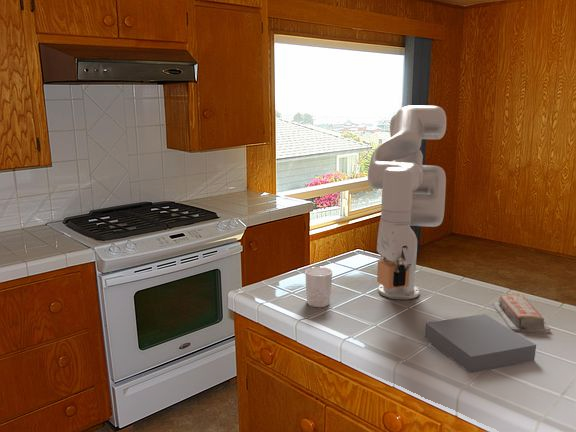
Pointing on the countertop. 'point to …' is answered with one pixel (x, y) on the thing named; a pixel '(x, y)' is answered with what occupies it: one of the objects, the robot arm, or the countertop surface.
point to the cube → (389, 274)
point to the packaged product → (520, 314)
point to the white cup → (318, 286)
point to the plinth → (479, 342)
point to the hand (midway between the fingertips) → (392, 280)
